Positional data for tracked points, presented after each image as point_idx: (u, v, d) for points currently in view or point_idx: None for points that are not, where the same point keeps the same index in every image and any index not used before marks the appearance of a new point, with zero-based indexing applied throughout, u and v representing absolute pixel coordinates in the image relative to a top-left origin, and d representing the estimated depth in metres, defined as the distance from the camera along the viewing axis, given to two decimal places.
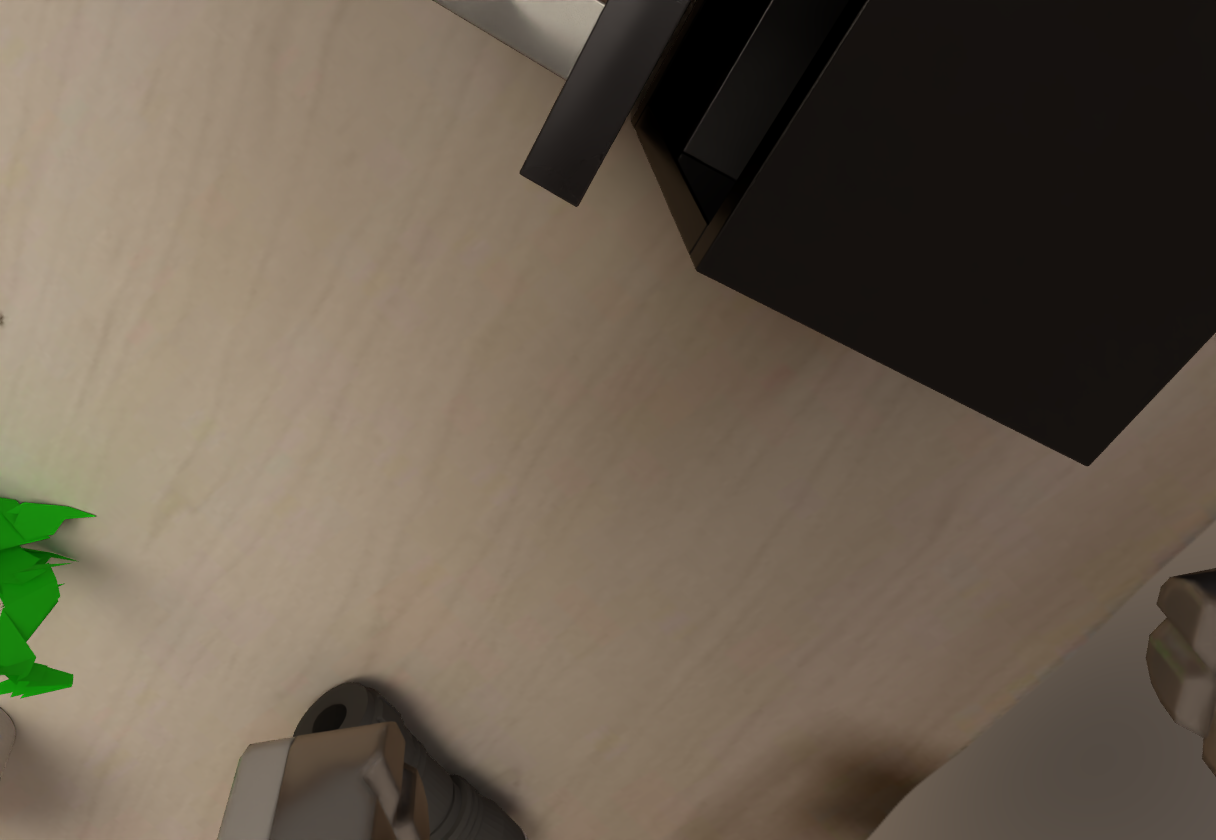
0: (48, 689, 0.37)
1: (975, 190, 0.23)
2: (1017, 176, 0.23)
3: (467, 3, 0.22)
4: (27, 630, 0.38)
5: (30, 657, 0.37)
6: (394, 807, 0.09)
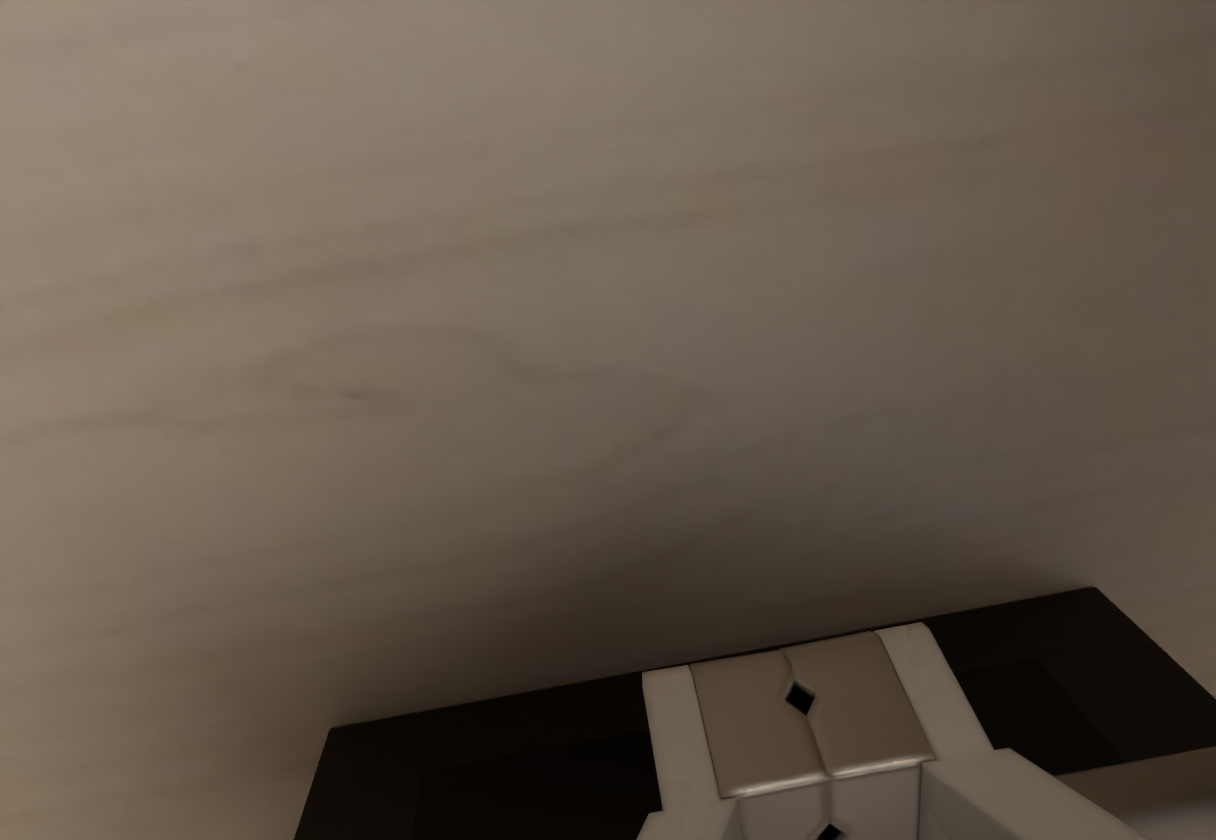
0: None
1: None
2: None
3: None
4: None
5: None
6: None
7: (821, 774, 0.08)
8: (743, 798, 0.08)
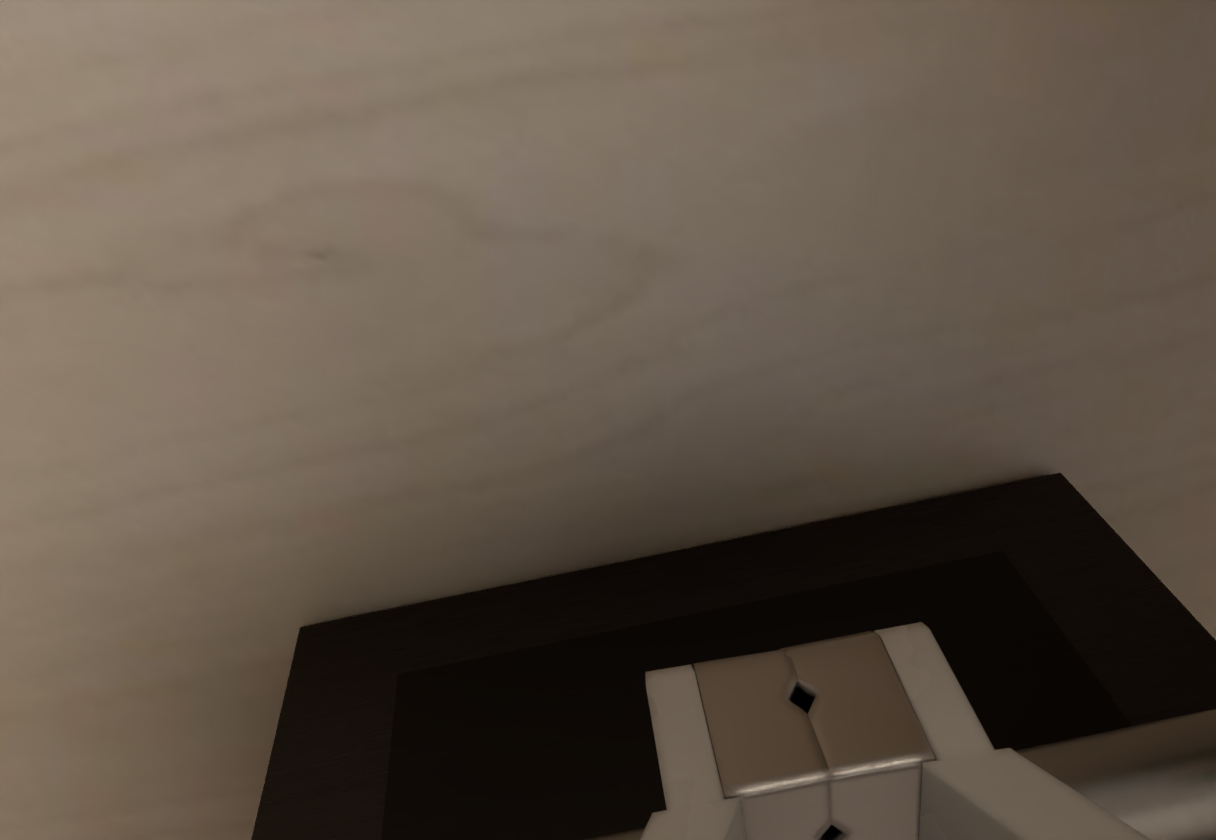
0: None
1: None
2: None
3: None
4: None
5: None
6: None
7: (824, 774, 0.08)
8: (747, 797, 0.08)
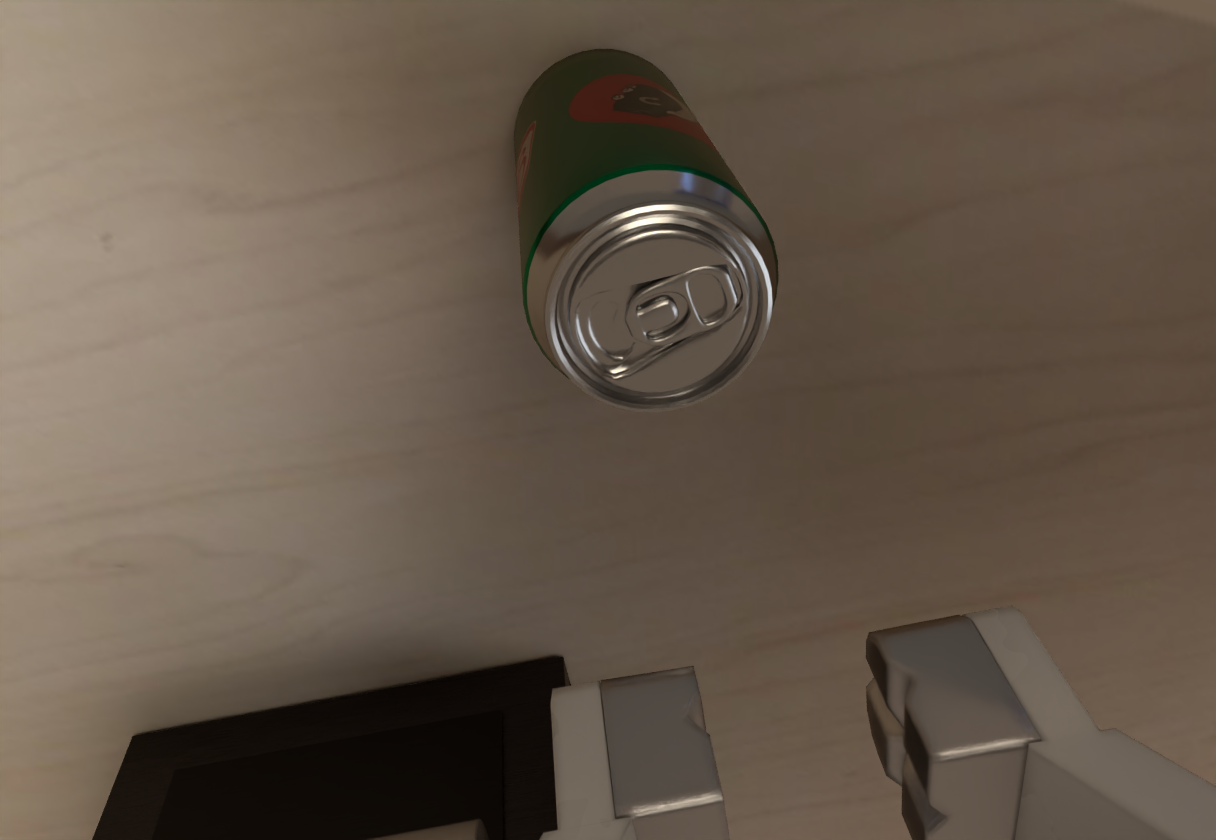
0: None
1: None
2: None
3: None
4: None
5: None
6: None
7: (716, 793, 0.08)
8: (638, 817, 0.08)
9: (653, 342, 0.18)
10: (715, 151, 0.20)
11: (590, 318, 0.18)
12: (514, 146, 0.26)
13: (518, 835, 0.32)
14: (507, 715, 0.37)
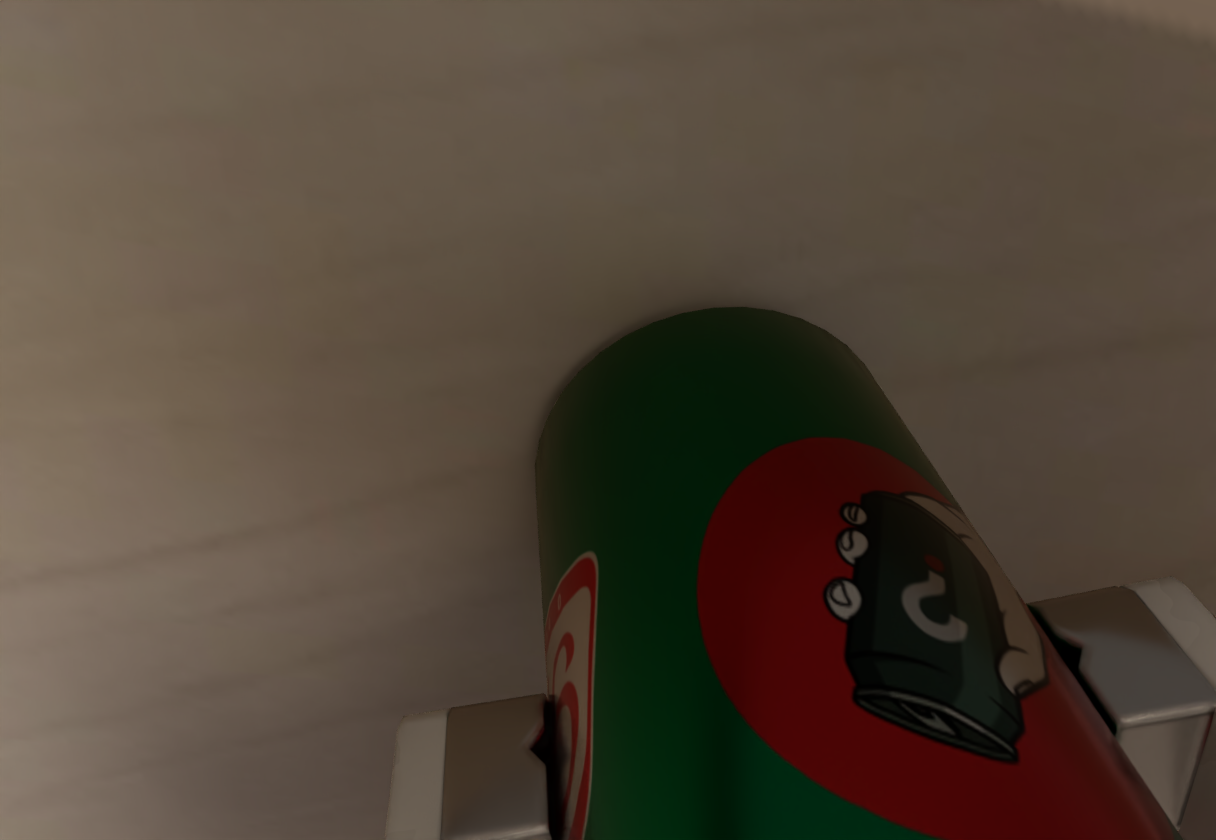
0: None
1: None
2: None
3: None
4: None
5: None
6: (550, 779, 0.09)
7: (541, 825, 0.08)
8: None
9: None
10: None
11: None
12: (536, 498, 0.13)
13: None
14: None
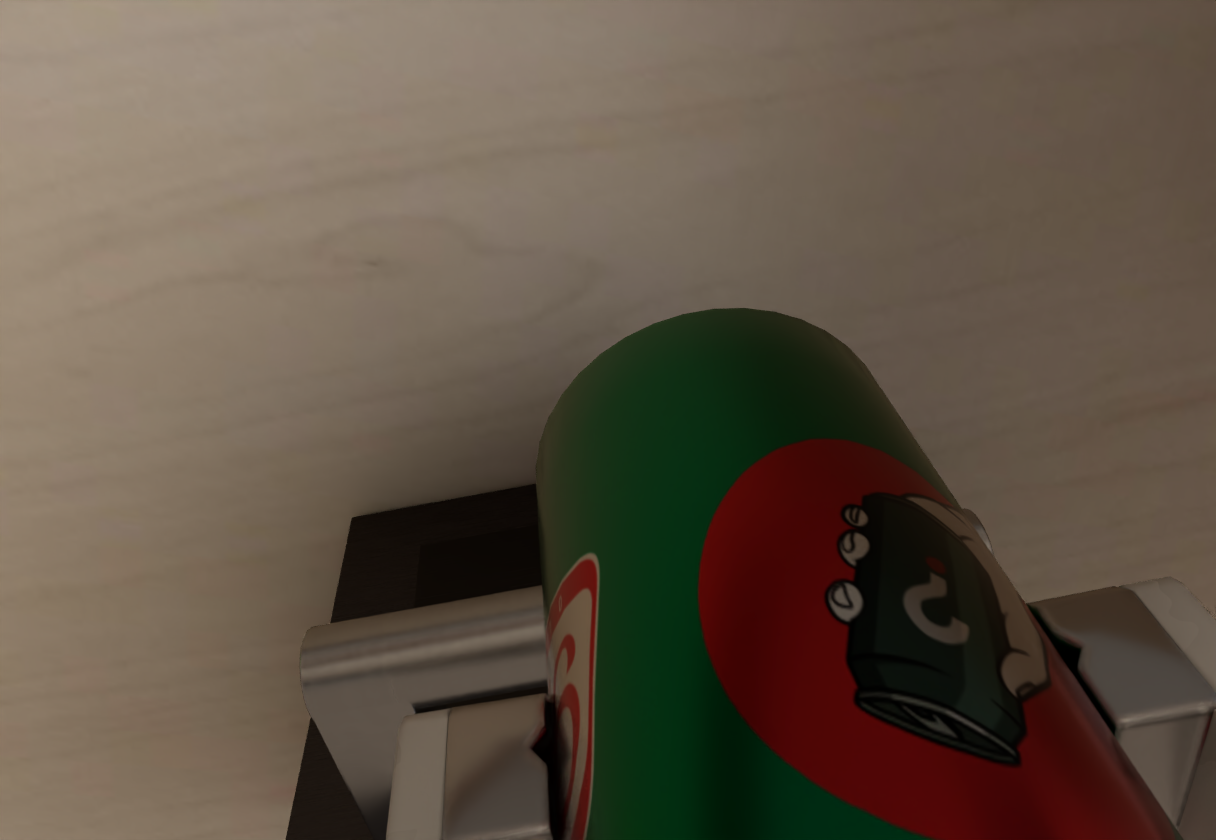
0: None
1: None
2: None
3: (351, 761, 0.19)
4: None
5: None
6: (551, 779, 0.09)
7: (542, 825, 0.08)
8: None
9: None
10: None
11: None
12: (537, 500, 0.13)
13: None
14: None
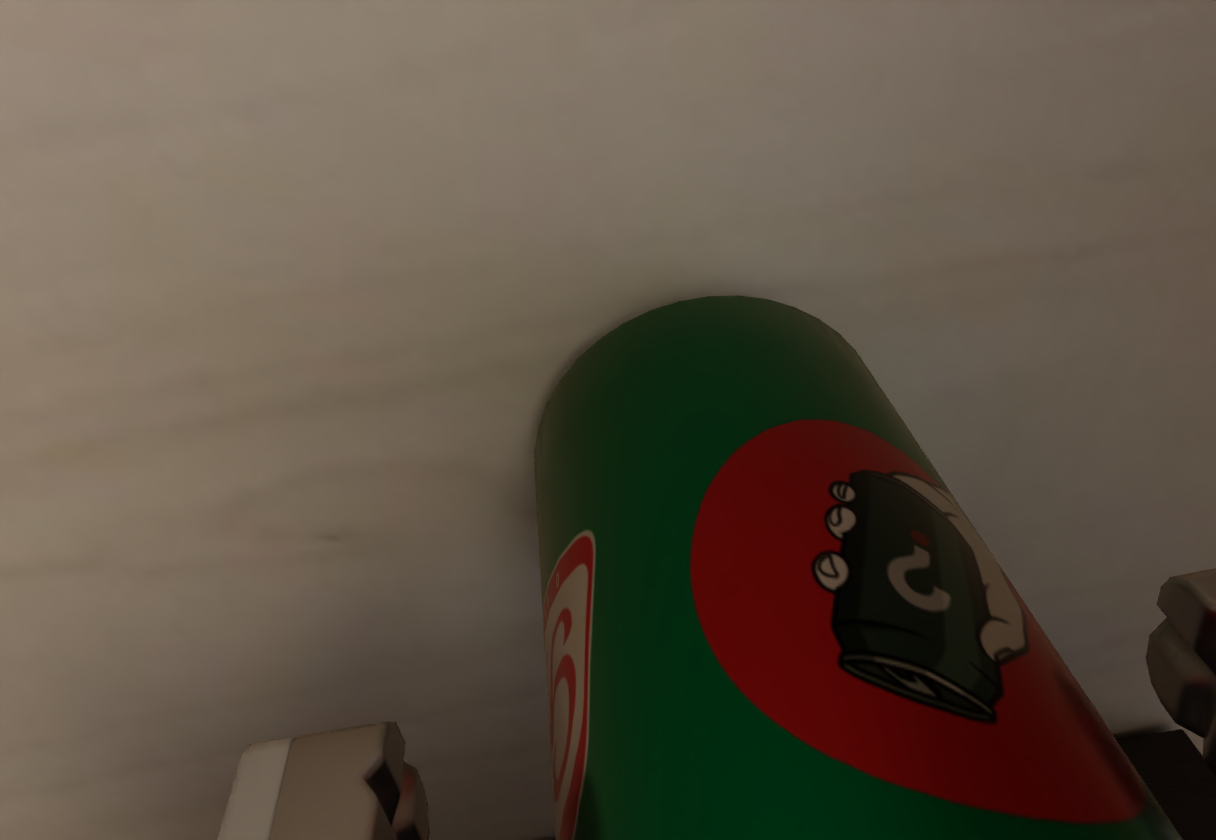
0: None
1: None
2: None
3: None
4: None
5: None
6: (395, 808, 0.09)
7: None
8: None
9: None
10: (1164, 824, 0.07)
11: None
12: None
13: None
14: None
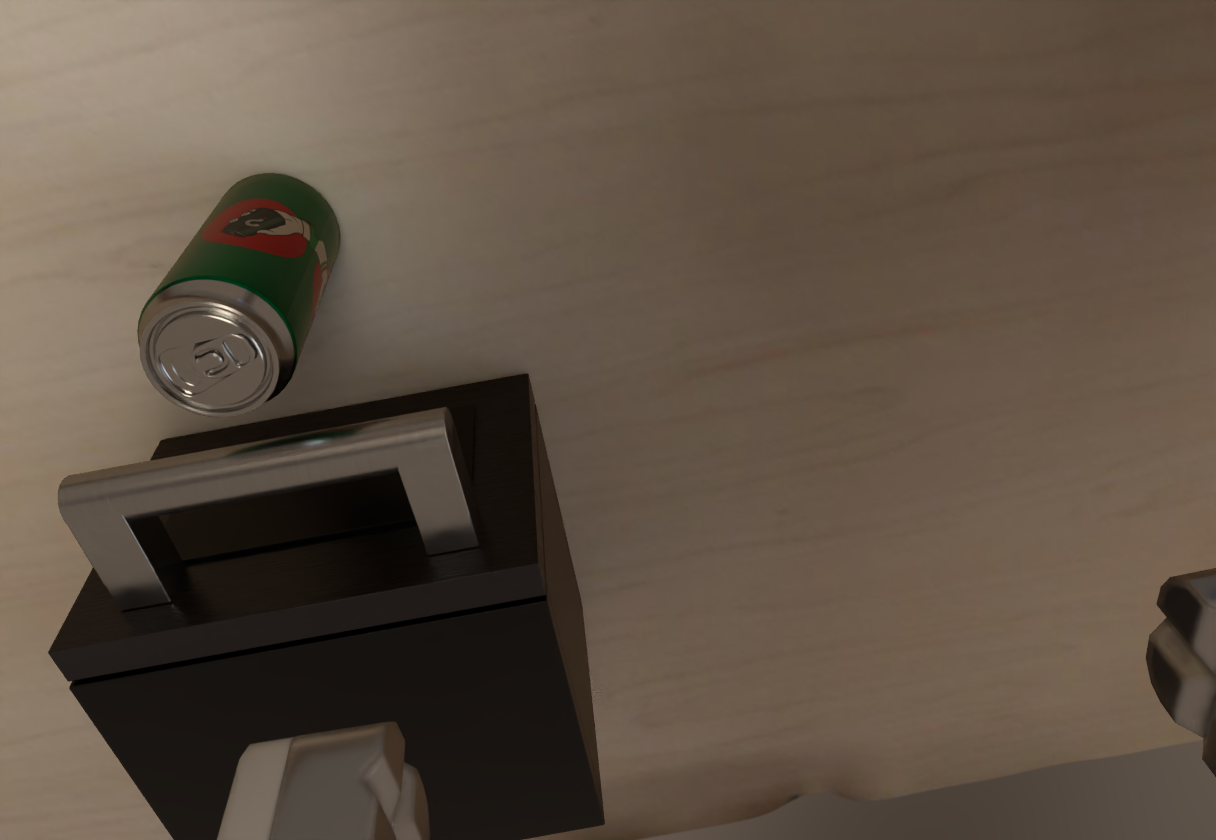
0: None
1: None
2: None
3: (94, 552, 0.34)
4: None
5: None
6: (395, 807, 0.09)
7: None
8: None
9: (211, 376, 0.31)
10: (278, 258, 0.33)
11: (172, 362, 0.31)
12: None
13: (484, 475, 0.39)
14: (479, 409, 0.43)
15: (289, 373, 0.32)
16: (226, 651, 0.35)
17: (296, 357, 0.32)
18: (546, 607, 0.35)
